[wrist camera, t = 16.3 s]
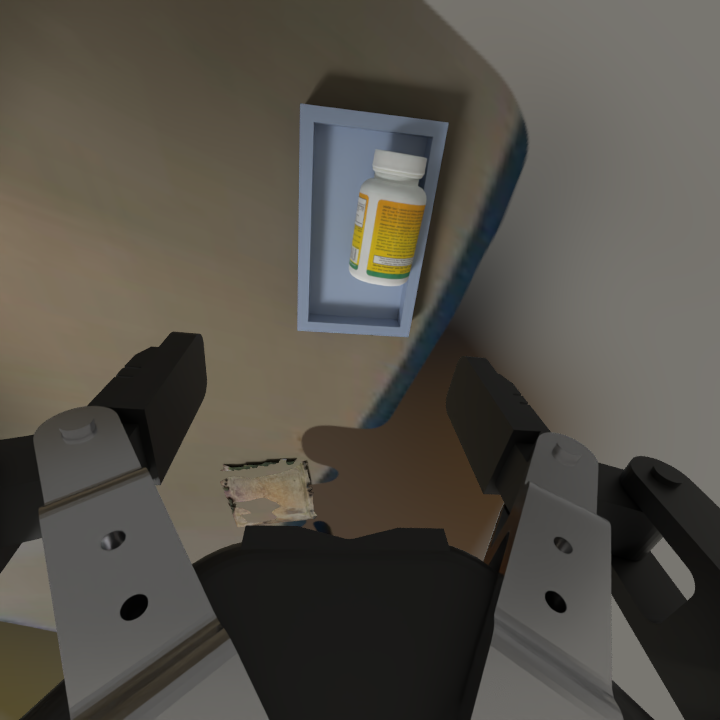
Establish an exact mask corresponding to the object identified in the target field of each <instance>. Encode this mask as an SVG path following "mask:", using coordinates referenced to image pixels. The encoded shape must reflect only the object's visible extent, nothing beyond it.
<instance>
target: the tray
mask: <svg viewBox="0 0 720 720" xmlns="http://www.w3.org/2000/svg"><path fill="white" fill-rule="evenodd" d="M448 124H449V123H448V122H440V121H432V120H425V119H417V118H409V117H401V116H393V115H386V114H378V113H370V112H362V111H355V110H347V109H339V108H331V107H323V106H316V105H308V104H300V161H299V245H298V329H297V331H314V332H331V333H347V334H364V335H381V336H398V337H409V331H410V326H411V321H412V315H413V310H414V305H415V299H416V294H417V289H418V284H419V278H420V273H421V268H422V262H423V257H424V252H425V246H426V241H427V236H428V230H429V225H430V220H431V214H432V209H433V204H434V198H435V193H436V188H437V182H438V177H439V172H440V166H441V161H442V156H443V150H444V145H445V140H446V134H447V129H448ZM376 149H379V150H385V151H391V152H397V153H403V154H408V155H414V156H419V157H424V158H427V162H426V168H425V174H424V175H423V177H422V178H421V179H419V182H418V186H419V187H421V188H422V189H423V190H424V192H425V194H426V199H427V200H426V206H425V210H424V214H423V218H422V223H421V227H420V231H419V236H418V240H417V244H416V248H415V253H414V258H413V262H412V266H411V270H410V274H409V278H408V280H407V282H405V283H404V284H402V285H399V286H382V285H377V284H371V283H367V282H364V281H361V280H359V279H356V278H355V277H353V276H352V275H351V273H350V271H349V261H350V254H351V247H352V240H353V234H354V227H355V219H356V212H357V206H358V199H359V192H360V188H361V185H362V184H363V183H364V182H365V181H366V180H367V179H370V178H374V174H375V171H374V170H373V166H372V164H373V159H374V153H375V150H376Z"/></svg>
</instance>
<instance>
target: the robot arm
mask: <svg viewBox="0 0 720 720" xmlns="http://www.w3.org/2000/svg"><path fill="white" fill-rule="evenodd" d="M206 387H207V375H206V365H205V354H204V343H203V338H202V336H201V334H195V333H183V332H171V333H170V334H169V336H168V337H167V338H166V339H165V340H164V341H163V343H162V344H161V345H160V346H159V347H150V348H148V349H146V350H144V351H142V352H140V353H138V354H136V355H135V356H134V357H133V358H132V359H131V360H130V361H129V362H128V363H127V364H126V365H125V368H122V369H121V370H120V372H119V373H118V374H117V375H116V377H114V378H113V379H112V380H111V381H110V382H109V383H108V384H107V385H106V386H105V387H104V389H103V390H102V391H101V392H100V393H99V394H98V395H97V396H96V397H95V398H94V399H93V400H92V401H91V402H90V403H89V405H88V406H85V407H79V408H74V409H71V410H67V411H64V412H62V413H59V414H57V415H55V416H53V417H51V418H50V419H48V420H46V421H45V422H44V423H43V424H41V425H40V426H39V428H38V429H37V430H36V432H35V434H34V435H30V436H24V437H17V438H10V439H3V440H0V573H1V572H2V570H3V569H4V568H5V566H6V565H7V563H8V562H9V560H10V559H11V558H12V556H13V555H14V553H15V552H16V551H17V549H18V548H19V546H20V545H21V543H22V542H26V541H31V540H35V539H39V538H42V540H43V546H44V553H45V559H46V565H47V572H48V578H49V584H50V591H51V597H52V603H53V610H54V616H55V622H56V629H57V634H58V641H59V647H60V654H61V660H62V666H63V673H64V679H63V680H62V681H61V682H60V683H59V684H58V685H57V686H56V687H55V688H54V689H52V690H51V691H50V692H49V693H48V694H47V695H46V696H45V697H44V698H43V699H42V700H40V701H39V702H38V703H37V704H36V705H35V706H34V707H33V708H31V709H30V710H29V711H28V712H27V713H26V714H25V715H24V716H23V717H22V718H21V719H19V720H654V719H653V718H652V717H651V716H650V715H649V714H648V713H647V712H645V711H644V710H643V709H642V708H641V707H640V706H639V705H638V704H637V703H636V702H635V701H634V700H633V699H632V698H631V697H630V696H629V695H627V694H626V693H625V692H624V691H623V690H622V689H621V688H620V687H619V686H618V685H617V684H616V683H615V682H614V681H612V653H611V652H612V646H611V645H612V644H611V643H612V638H611V636H612V634H611V594H612V596H613V597H614V599H615V601H616V602H617V604H618V606H619V608H620V609H621V611H622V613H623V614H624V616H625V618H626V620H627V621H628V623H629V625H630V627H631V628H632V630H633V632H634V633H635V635H636V637H637V638H638V640H639V642H640V644H641V645H642V647H643V649H644V650H645V652H646V654H647V656H648V657H649V659H650V661H651V663H652V664H653V666H654V668H655V669H656V671H657V673H658V675H659V676H660V678H661V680H662V681H663V683H664V685H665V686H666V688H667V690H668V692H669V693H670V695H671V697H672V698H673V700H674V702H675V704H676V705H677V707H678V709H679V711H680V712H681V714H682V715H683V717H684V719H685V720H720V508H719V507H718V506H717V505H716V504H715V503H714V502H713V501H712V500H711V499H710V498H709V497H708V496H707V495H706V494H705V493H703V492H702V491H701V490H700V489H699V488H698V487H697V486H696V485H695V484H694V483H693V482H692V481H691V480H690V479H689V478H688V477H687V476H685V475H684V474H683V473H681V472H680V471H678V470H677V469H675V468H674V467H672V466H670V465H668V464H666V463H664V462H662V461H659V460H657V459H654V458H650V457H645V456H638V457H634V458H633V459H632V460H631V461H630V462H629V464H628V465H627V467H626V468H625V469H624V470H623V469H619V468H616V467H612V466H608V465H605V464H601V463H598V461H597V459H596V457H595V456H594V454H593V453H592V452H591V451H590V450H589V449H588V448H587V447H585V446H584V445H583V444H581V443H580V442H578V441H576V440H575V439H573V438H570V437H568V436H566V435H562V434H559V433H552V432H550V430H549V429H548V428H547V427H546V425H545V424H544V423H543V422H542V420H541V419H540V418H539V416H538V415H537V414H536V413H535V411H534V410H533V409H532V408H531V406H530V405H528V402H527V401H526V400H525V399H524V397H523V396H521V393H520V392H519V391H518V390H517V388H516V387H515V386H514V384H513V383H511V382H510V381H509V380H507V379H506V378H504V377H503V376H502V375H500V374H498V373H497V372H496V371H495V370H494V368H493V367H492V366H491V364H490V363H489V361H488V360H487V359H486V358H478V357H467V356H462V357H461V358H460V359H459V361H458V363H457V366H456V369H455V372H454V375H453V378H452V381H451V384H450V387H449V391H448V394H447V398H446V409H447V414H448V416H449V418H450V420H451V423H452V425H453V427H454V429H455V432H456V434H457V436H458V438H459V440H460V443H461V445H462V447H463V449H464V452H465V454H466V456H467V458H468V461H469V463H470V465H471V467H472V470H473V472H474V474H475V476H476V478H477V481H478V483H479V485H480V487H481V490H482V492H483V494H499V495H501V497H502V499H503V501H504V504H503V506H502V508H501V510H500V513H499V516H498V519H497V522H496V525H495V528H494V531H493V534H492V536H491V539H490V542H489V545H488V548H487V551H486V554H485V557H484V559H483V561H481V560H480V559H478V558H477V557H475V556H473V555H471V554H469V553H467V552H465V551H463V550H460V549H458V548H455V547H453V546H449V545H448V542H447V538H446V535H445V532H444V529H432V528H395V529H392V530H387V531H383V532H379V533H375V534H371V535H367V536H363V537H359V538H355V539H344V538H340V537H336V536H333V535H329V534H325V533H321V532H317V531H314V530H310V529H306V528H302V527H298V526H257V525H246V527H245V531H244V536H243V540H242V542H241V543H237V544H233V545H230V546H227V547H224V548H222V549H219V550H217V551H215V552H213V553H211V554H209V555H207V556H205V557H203V558H202V559H200V560H198V561H197V562H195V563H193V564H191V562H190V559H189V557H188V555H187V553H186V551H185V549H184V547H183V544H182V542H181V540H180V538H179V536H178V534H177V531H176V529H175V527H174V525H173V523H172V521H171V519H170V516H169V514H168V512H167V510H166V508H165V506H164V503H163V501H162V499H161V497H160V495H159V493H158V491H157V488H156V486H155V485H161V483H162V481H163V479H164V477H165V475H166V473H167V471H168V469H169V467H170V465H171V463H172V461H173V459H174V457H175V455H176V453H177V451H178V449H179V447H180V445H181V443H182V441H183V439H184V437H185V435H186V433H187V431H188V429H189V427H190V425H191V423H192V421H193V419H194V417H195V415H196V413H197V411H198V409H199V407H200V405H201V403H202V401H203V399H204V396H205V393H206ZM662 537H664V539H665V540H666V541H667V542H668V544H669V545H670V546H671V547H672V549H673V550H674V551H675V552H676V554H677V555H678V556H679V557H680V559H681V560H682V561H683V562H684V564H685V565H686V566H687V567H688V569H689V570H690V571H691V573H692V575H693V578H694V581H695V593H694V595H693V596H692V597H691V598H690V599H689V600H688V601H687V600H686V598H685V597H684V596H683V595H682V593H681V592H680V590H679V589H678V588H677V586H676V585H675V584H674V582H673V581H672V580H671V578H670V577H669V576H668V574H667V573H666V572H665V570H664V569H663V568H662V566H661V565H660V564H659V562H658V561H657V560H656V558H655V557H654V555H653V554H652V553H651V551H650V550H651V549H652V548H653V547H654V546H655V545H656V544H657V543H658V542H659V541H660V540H661V539H662Z"/></svg>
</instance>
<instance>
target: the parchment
mask: <svg viewBox="0 0 720 720" xmlns="http://www.w3.org/2000/svg"><path fill="white" fill-rule="evenodd" d="M283 460H287V459H283ZM279 461H280V459H279V460H277V461H274V462H265V463H263V464H261V465H260V466H268V465H269V464H276V463H279ZM294 462H295V461H293V462H288V461H286V463H287V464H288V465H291V464H293V463H294ZM307 463H308V462H307ZM307 463H305V462H304V461H303V463H302V464H300V465H299V466H297V467H295V468H292V469H290V470H287V471H284V472H282V473H278V474H273V475H268V476H263V477H256V478H254V479H250V478H245V477H238V476H232V477H228V478H226V479H224V480H222V481H220V483H221V485H222V487H223V489H224V490H225V495H226V497H227V499H228V500H229V505H230V506H231V509H232V514H233V516H234V519H235V521H236V524H237V527H243V526H246V525H262V524H270V523H279V522H288V521H299V520H305V519H311V518H313V519H315V518H316V517H317V515H316V513H315V512H314V506H313V493H312V492H310V491H311V490H312V487H308V486H309V484H310V479H309V477H308V472H307V469H305V467H306V465H307ZM223 466H224V469H223V470H221V471H230V470H233V471H234V470H242V469H250V467H252V468H257V467H258V465H244V467H233V468H231V467H228V466H226V465H224V464H223ZM262 497H265V498H267V499H269V500H271V501H274V502H277V503H278V504H279V505H280V507H279V508H277V509H275V510H274V511H273V512H272V513H273V514H274V515H275V516H276V517H277V518H276V519H275V520H270V521H266V522H259V523H248V522H247V521H246V519H244V518H243V517H242V516H241V515H243V514H250V513H251V512H249V511H248V510H245V509H242V508H236V507H234V506H233V502H243V501H250V500H253V499H257V498H262Z"/></svg>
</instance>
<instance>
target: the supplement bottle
mask: <svg viewBox="0 0 720 720" xmlns="http://www.w3.org/2000/svg"><path fill="white" fill-rule="evenodd" d="M426 162H427V158H424V157H419V156H414V155H408V154H403V153H397V152H391V151H385V150H379V149H376V150H375V153H374V159H373V164H372V166H373V170H374V171H375V174H374V178H370V179H367V180H366V181H365V182H364V183H363V184H362V185H361V188H360V192H359V199H358V206H357V212H356V219H355V227H354V234H353V240H352V247H351V254H350V261H349V271H350V273H351V275H352V276H353V277H355V278H356V279H359V280H361V281H364V282H367V283H371V284H377V285H382V286H399V285H402V284H404V283H405V282H407V280H408V278H409V274H410V270H411V266H412V262H413V258H414V253H415V248H416V244H417V240H418V236H419V231H420V227H421V223H422V218H423V214H424V210H425V206H426V200H427V199H426V194H425V192H424V190H423V189H422V188H421V187H419V186H418V182H419V179H421V178H422V177H423V175H424V174H425V168H426Z"/></svg>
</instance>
